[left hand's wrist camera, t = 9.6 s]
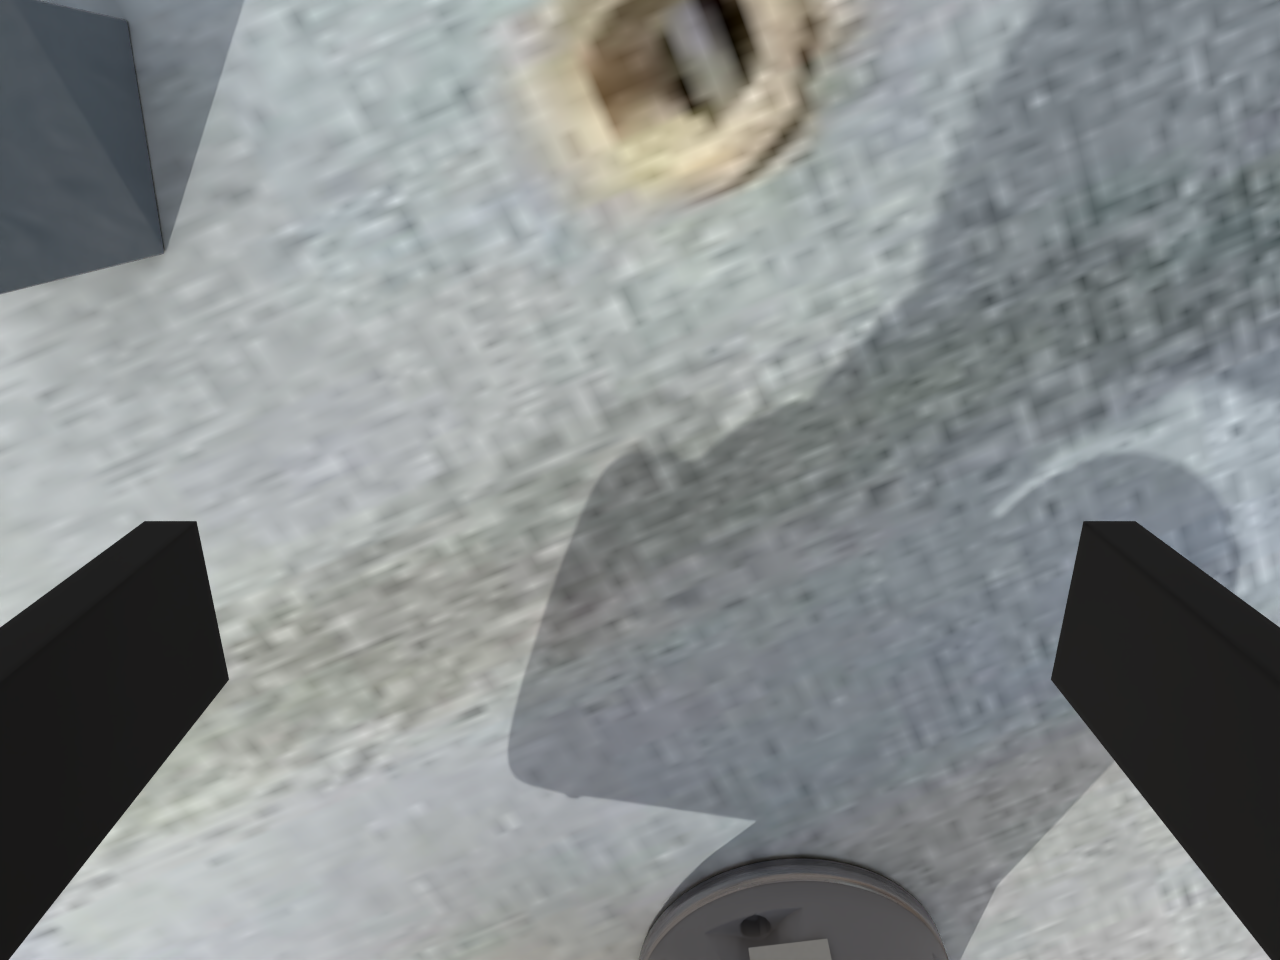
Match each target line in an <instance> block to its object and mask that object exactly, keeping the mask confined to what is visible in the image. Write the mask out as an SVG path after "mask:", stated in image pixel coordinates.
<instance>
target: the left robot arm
mask: <svg viewBox="0 0 1280 960" xmlns="http://www.w3.org/2000/svg"><path fill="white" fill-rule="evenodd" d="M228 680H229V677H228V672H227V667H226V663H225V658H224V653H223V648H222V643H221V638H220V633H219V629H218V624H217V619H216V614H215V609H214V604H213V599H212V595H211V590H210V585H209V580H208V575H207V570H206V565H205V561H204V556H203V551H202V546H201V541H200V536H199V531H198V526H197V522H196V521H144V522H143V523H142V524H140V525H139V526H138V527H136V528H135V529H134V530H132V531H131V532H129V533H128V534H127V535H125V536H124V537H123V538H121V539H120V540H119V541H117V542H116V543H115V544H113V545H112V546H110V547H109V548H108V549H106V550H105V551H104V552H102V553H101V554H100V555H98V556H97V557H96V558H94V559H93V560H91V561H90V562H89V563H87V564H86V565H85V566H83V567H82V568H81V569H79V570H78V571H76V572H75V573H74V574H72V575H71V576H70V577H68V578H67V579H66V580H64V581H63V582H62V583H60V584H59V585H57V586H56V587H55V588H53V589H52V590H51V591H49V592H48V593H47V594H45V595H44V596H42V597H41V598H40V599H38V600H37V601H36V602H34V603H33V604H32V605H30V606H29V607H28V608H26V609H25V610H23V611H22V612H21V613H19V614H18V615H17V616H15V617H14V618H13V619H11V620H10V621H9V622H7V623H6V624H4V625H3V626H2V627H0V960H9V959H10V957H11V956H12V955H13V954H14V952H15V951H16V950H17V948H18V947H19V946H20V945H21V943H22V942H23V941H24V940H25V938H26V937H27V936H28V934H29V933H30V932H31V931H32V929H33V928H34V927H35V926H36V924H37V923H38V922H39V920H40V919H41V918H42V917H43V915H44V914H45V913H46V912H47V910H48V909H49V908H50V906H51V905H52V904H53V903H54V901H55V900H56V899H57V898H58V896H59V895H60V894H61V892H62V891H63V890H64V889H65V887H66V886H67V885H68V884H69V882H70V881H71V880H72V878H73V877H74V876H75V875H76V873H77V872H78V871H79V870H80V868H81V867H82V866H83V865H84V863H85V862H86V861H87V859H88V858H89V857H90V856H91V854H92V853H93V852H94V851H95V849H96V848H97V847H98V845H99V844H100V843H101V842H102V840H103V839H104V838H105V837H106V835H107V834H108V833H109V831H110V830H111V829H112V828H113V826H114V825H115V824H116V823H117V821H118V820H119V819H120V817H121V816H122V815H123V814H124V812H125V811H126V810H127V809H128V807H129V806H130V805H131V803H132V802H133V801H134V800H135V798H136V797H137V796H138V795H139V793H140V792H141V791H142V789H143V788H144V787H145V786H146V784H147V783H148V782H149V781H150V779H151V778H152V777H153V775H154V774H155V773H156V772H157V770H158V769H159V768H160V767H161V765H162V764H163V763H164V762H165V760H166V759H167V758H168V756H169V755H170V754H171V753H172V751H173V750H174V749H175V748H176V746H177V745H178V744H179V742H180V741H181V740H182V739H183V737H184V736H185V735H186V734H187V732H188V731H189V730H190V728H191V727H192V726H193V725H194V723H195V722H196V721H197V720H198V718H199V717H200V716H201V714H202V713H203V712H204V711H205V709H206V708H207V707H208V706H209V704H210V703H211V702H212V700H213V699H214V698H215V697H216V695H217V694H218V693H219V692H220V690H221V689H222V688H223V686H224V685H225V684H226V683H227V681H228ZM1051 680H1052V681H1053V683H1054V684H1055V685H1056V686H1057V688H1058V689H1059V690H1060V692H1061V693H1062V694H1063V695H1064V697H1065V698H1066V699H1067V700H1068V702H1069V703H1070V704H1071V706H1072V707H1073V708H1074V709H1075V711H1076V712H1077V713H1078V714H1079V716H1080V717H1081V718H1082V720H1083V721H1084V722H1085V723H1086V725H1087V726H1088V727H1089V728H1090V730H1091V731H1092V732H1093V734H1094V735H1095V736H1096V737H1097V739H1098V740H1099V741H1100V742H1101V744H1102V745H1103V746H1104V748H1105V749H1106V750H1107V751H1108V753H1109V754H1110V755H1111V756H1112V758H1113V759H1114V760H1115V762H1116V763H1117V764H1118V765H1119V767H1120V768H1121V769H1122V770H1123V772H1124V773H1125V774H1126V775H1127V777H1128V778H1129V779H1130V781H1131V782H1132V783H1133V784H1134V786H1135V787H1136V788H1137V789H1138V791H1139V792H1140V793H1141V795H1142V796H1143V797H1144V798H1145V800H1146V801H1147V802H1148V803H1149V805H1150V806H1151V807H1152V809H1153V810H1154V811H1155V812H1156V814H1157V815H1158V816H1159V817H1160V819H1161V820H1162V821H1163V823H1164V824H1165V825H1166V826H1167V828H1168V829H1169V830H1170V831H1171V833H1172V834H1173V835H1174V837H1175V838H1176V839H1177V840H1178V842H1179V843H1180V844H1181V845H1182V847H1183V848H1184V849H1185V851H1186V852H1187V853H1188V854H1189V856H1190V857H1191V858H1192V859H1193V861H1194V862H1195V863H1196V865H1197V866H1198V867H1199V868H1200V870H1201V871H1202V872H1203V873H1204V875H1205V876H1206V877H1207V878H1208V880H1209V881H1210V882H1211V884H1212V885H1213V886H1214V887H1215V889H1216V890H1217V891H1218V892H1219V894H1220V895H1221V896H1222V898H1223V899H1224V900H1225V901H1226V903H1227V904H1228V905H1229V906H1230V908H1231V909H1232V910H1233V912H1234V913H1235V914H1236V915H1237V917H1238V918H1239V919H1240V920H1241V922H1242V923H1243V924H1244V926H1245V927H1246V928H1247V929H1248V931H1249V932H1250V933H1251V934H1252V936H1253V937H1254V938H1255V940H1256V941H1257V942H1258V943H1259V945H1260V946H1261V947H1262V948H1263V950H1264V951H1265V952H1266V954H1267V955H1268V956H1269V957H1270V959H1271V960H1280V627H1278V626H1277V625H1276V624H1274V623H1273V622H1271V621H1270V620H1269V619H1267V618H1266V617H1265V616H1263V615H1262V614H1261V613H1259V612H1258V611H1257V610H1255V609H1254V608H1252V607H1251V606H1250V605H1248V604H1247V603H1246V602H1244V601H1243V600H1242V599H1240V598H1239V597H1238V596H1236V595H1235V594H1233V593H1232V592H1231V591H1229V590H1228V589H1227V588H1225V587H1224V586H1223V585H1221V584H1220V583H1218V582H1217V581H1216V580H1214V579H1213V578H1212V577H1210V576H1209V575H1208V574H1206V573H1205V572H1204V571H1202V570H1201V569H1199V568H1198V567H1197V566H1195V565H1194V564H1193V563H1191V562H1190V561H1189V560H1187V559H1186V558H1185V557H1183V556H1182V555H1180V554H1179V553H1178V552H1176V551H1175V550H1174V549H1172V548H1171V547H1170V546H1168V545H1167V544H1165V543H1164V542H1163V541H1161V540H1160V539H1159V538H1157V537H1156V536H1155V535H1153V534H1152V533H1151V532H1149V531H1148V530H1146V529H1145V528H1144V527H1142V526H1141V525H1140V524H1138V523H1137V522H1136V521H1084V522H1083V526H1082V531H1081V536H1080V541H1079V546H1078V551H1077V556H1076V561H1075V565H1074V570H1073V575H1072V580H1071V585H1070V590H1069V595H1068V599H1067V604H1066V609H1065V614H1064V619H1063V624H1062V629H1061V633H1060V638H1059V643H1058V648H1057V653H1056V658H1055V663H1054V667H1053V672H1052V677H1051ZM639 960H948V957H947V954H946V951H945V949H944V946H943V943H942V941H941V938H940V935H939V933H938V930H937V928H936V926H935V924H934V922H933V920H932V919H931V917H930V915H929V914H928V912H927V911H926V910H925V909H924V907H923V906H922V905H921V904H920V903H919V902H918V901H917V900H916V899H915V898H914V897H913V896H912V895H911V894H909V893H908V892H907V891H906V890H905V889H903V888H902V887H900V886H899V885H897V884H896V883H894V882H892V881H891V880H889V879H887V878H885V877H883V876H881V875H879V874H876V873H874V872H871V871H869V870H866V869H863V868H860V867H857V866H854V865H850V864H845V863H841V862H835V861H828V860H821V859H781V860H771V861H765V862H759V863H754V864H750V865H746V866H742V867H739V868H735V869H732V870H729V871H726V872H724V873H721V874H719V875H716V876H714V877H712V878H710V879H708V880H706V881H704V882H702V883H700V884H698V885H697V886H695V887H694V888H692V889H690V890H689V891H687V892H686V893H685V894H683V895H682V896H681V897H679V898H678V899H677V900H676V901H674V902H673V903H672V904H671V905H670V906H669V907H668V908H667V909H666V910H665V911H664V912H663V913H662V914H661V916H660V917H659V918H658V919H657V921H656V922H655V923H654V925H653V926H652V928H651V930H650V931H649V933H648V935H647V937H646V939H645V942H644V944H643V947H642V950H641V954H640V958H639Z"/></svg>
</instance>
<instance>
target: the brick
mask: <svg viewBox="0 0 1280 960" xmlns="http://www.w3.org/2000/svg"><path fill="white" fill-rule="evenodd" d="M161 254H164V248H163V242H162V236H161V230H160V223H159V217H158V211H157V205H156V198H155V192H154V186H153V180H152V173H151V167H150V161H149V155H148V148H147V142H146V136H145V130H144V123H143V117H142V111H141V105H140V98H139V92H138V86H137V80H136V73H135V67H134V61H133V55H132V48H131V42H130V36H129V30H128V23H127V21H126V20H125V19H121V18H116V17H112V16H107V15H103V14H98V13H94V12H89V11H85V10H80V9H76V8H71V7H67V6H62V5H58V4H53V3H49V2H44V1H40V0H0V294H4V293H8V292H12V291H16V290H20V289H24V288H28V287H32V286H36V285H40V284H44V283H48V282H52V281H56V280H60V279H64V278H68V277H72V276H76V275H80V274H85V273H89V272H93V271H97V270H101V269H105V268H109V267H113V266H117V265H121V264H125V263H129V262H133V261H137V260H141V259H145V258H149V257H153V256H157V255H161Z"/></svg>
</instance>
